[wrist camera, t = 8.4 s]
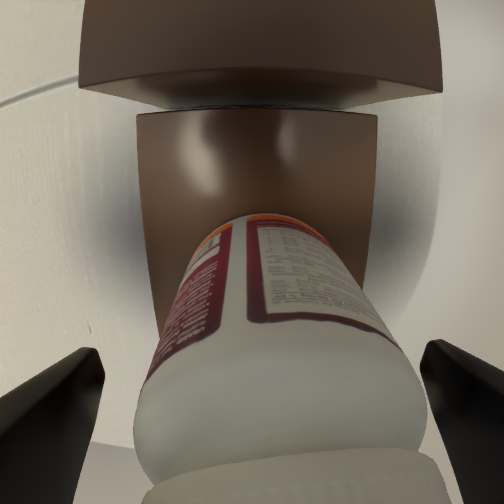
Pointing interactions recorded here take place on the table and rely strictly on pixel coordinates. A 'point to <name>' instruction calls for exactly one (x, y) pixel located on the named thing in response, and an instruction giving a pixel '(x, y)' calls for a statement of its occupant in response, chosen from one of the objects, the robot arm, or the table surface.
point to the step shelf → (256, 112)
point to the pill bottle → (280, 382)
